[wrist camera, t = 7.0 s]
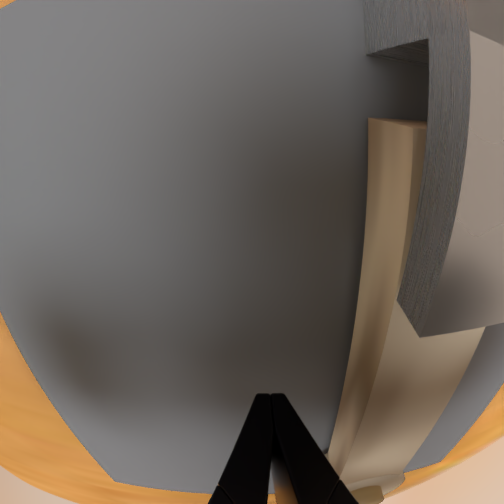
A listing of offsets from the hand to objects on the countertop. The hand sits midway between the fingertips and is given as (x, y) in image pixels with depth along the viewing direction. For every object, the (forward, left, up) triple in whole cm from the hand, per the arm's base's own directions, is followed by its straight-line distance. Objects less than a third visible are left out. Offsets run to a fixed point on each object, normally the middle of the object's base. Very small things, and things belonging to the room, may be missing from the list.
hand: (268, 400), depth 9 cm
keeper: (+8, -4, -2) cm, 9 cm away
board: (0, -2, -2) cm, 2 cm away
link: (-1, -4, -1) cm, 4 cm away
